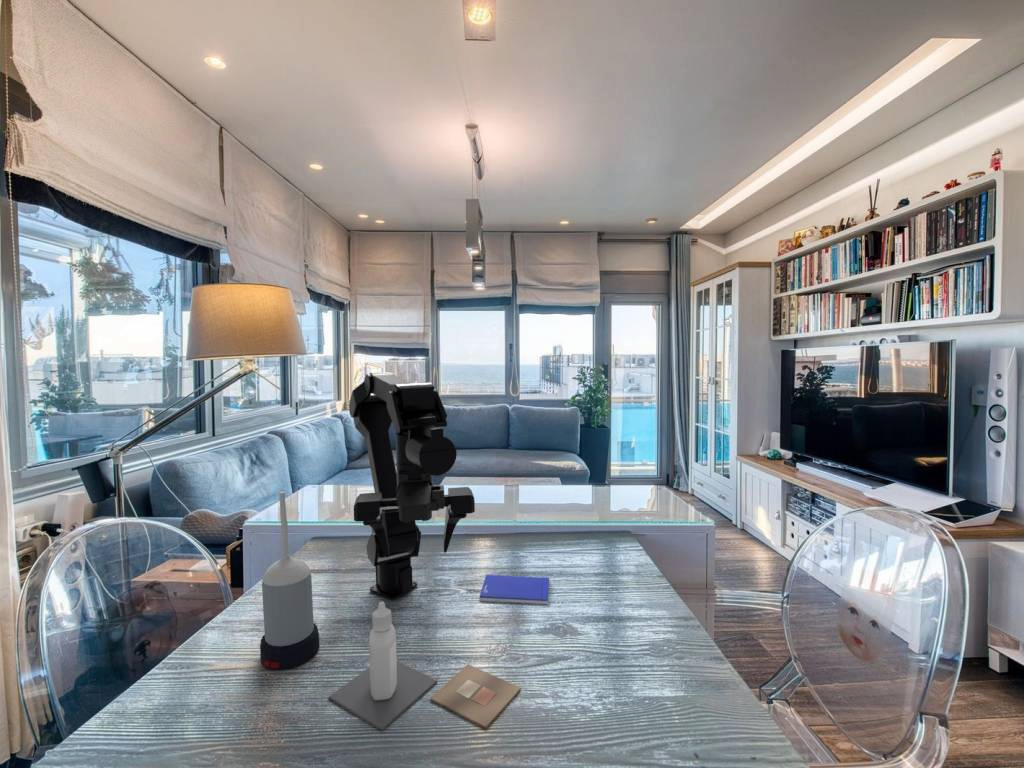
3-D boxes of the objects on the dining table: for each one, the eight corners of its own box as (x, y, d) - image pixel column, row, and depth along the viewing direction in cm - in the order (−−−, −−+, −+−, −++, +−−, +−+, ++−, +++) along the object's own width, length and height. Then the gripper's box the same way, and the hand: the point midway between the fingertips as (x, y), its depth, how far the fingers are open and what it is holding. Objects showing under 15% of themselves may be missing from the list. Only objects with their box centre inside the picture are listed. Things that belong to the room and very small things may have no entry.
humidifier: (257, 677, 70) (247, 504, 67) (263, 643, 77) (254, 487, 75) (319, 662, 73) (312, 496, 70) (319, 631, 80) (312, 481, 78)
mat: (328, 698, 65) (328, 696, 65) (386, 657, 74) (386, 655, 74) (381, 730, 60) (381, 728, 60) (437, 682, 68) (436, 680, 68)
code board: (430, 700, 65) (430, 697, 65) (467, 665, 72) (467, 663, 72) (485, 729, 60) (485, 726, 60) (520, 689, 67) (520, 687, 67)
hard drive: (479, 595, 89) (548, 598, 88) (486, 573, 98) (549, 576, 96) (479, 603, 90) (548, 607, 88) (486, 581, 98) (549, 584, 97)
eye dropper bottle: (409, 677, 69) (407, 595, 68) (386, 705, 64) (383, 617, 63) (382, 670, 70) (379, 589, 69) (357, 697, 65) (354, 610, 64)
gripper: (347, 478, 70) (351, 583, 72) (478, 470, 74) (479, 571, 75) (356, 459, 81) (359, 551, 82) (470, 453, 85) (471, 541, 86)
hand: (416, 554), depth 81 cm, fingers open, 9 cm apart
